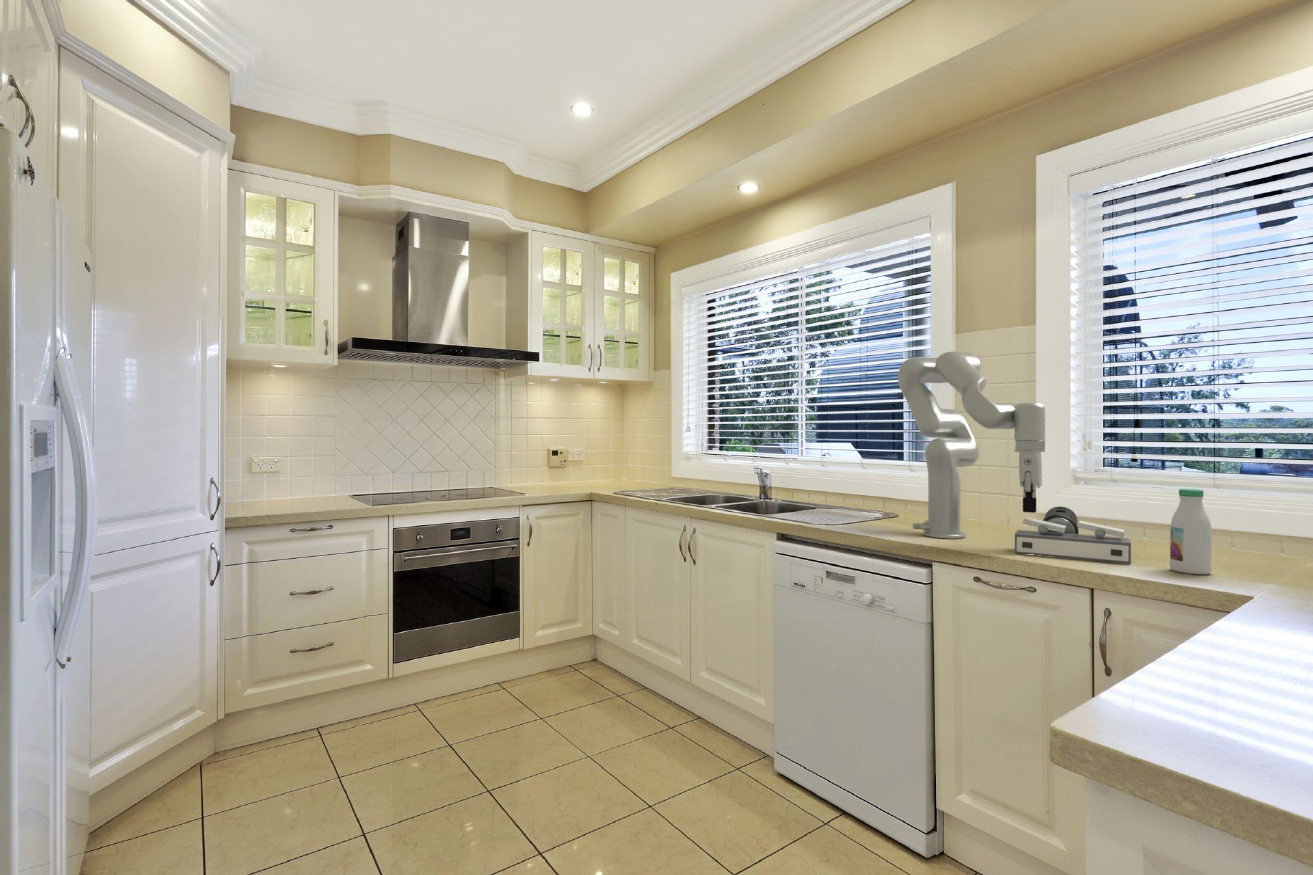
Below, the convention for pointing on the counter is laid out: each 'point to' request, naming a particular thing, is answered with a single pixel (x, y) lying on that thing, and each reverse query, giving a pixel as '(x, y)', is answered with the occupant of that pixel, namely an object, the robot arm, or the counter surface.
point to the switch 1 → (1044, 525)
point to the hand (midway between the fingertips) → (1029, 511)
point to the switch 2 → (1101, 529)
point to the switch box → (1074, 546)
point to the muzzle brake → (1063, 519)
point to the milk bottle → (1190, 535)
